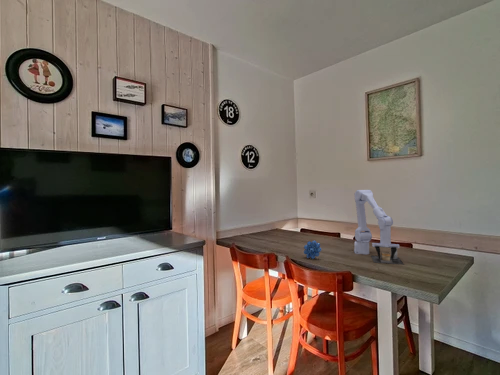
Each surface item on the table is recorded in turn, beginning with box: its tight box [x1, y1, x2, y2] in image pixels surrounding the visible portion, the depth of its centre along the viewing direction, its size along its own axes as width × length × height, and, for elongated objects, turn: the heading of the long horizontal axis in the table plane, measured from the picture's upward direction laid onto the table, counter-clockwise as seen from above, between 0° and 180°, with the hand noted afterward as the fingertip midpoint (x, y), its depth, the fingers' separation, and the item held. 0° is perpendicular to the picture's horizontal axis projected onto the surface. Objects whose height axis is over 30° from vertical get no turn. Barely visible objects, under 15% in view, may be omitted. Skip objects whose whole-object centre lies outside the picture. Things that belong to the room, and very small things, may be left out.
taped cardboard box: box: [380, 251, 391, 261], centre depth 159 cm, size 4×4×5 cm
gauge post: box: [393, 250, 398, 260], centre depth 165 cm, size 3×3×8 cm
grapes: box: [303, 240, 322, 260], centre depth 171 cm, size 12×7×12 cm, turn 63°
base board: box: [370, 255, 404, 265], centre depth 162 cm, size 16×16×2 cm
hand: (385, 259), depth 159 cm, fingers open, 6 cm apart
